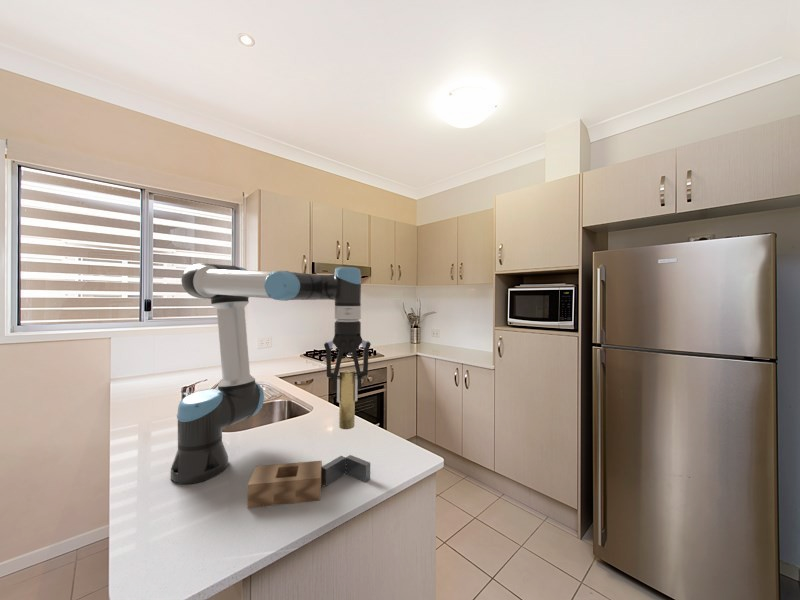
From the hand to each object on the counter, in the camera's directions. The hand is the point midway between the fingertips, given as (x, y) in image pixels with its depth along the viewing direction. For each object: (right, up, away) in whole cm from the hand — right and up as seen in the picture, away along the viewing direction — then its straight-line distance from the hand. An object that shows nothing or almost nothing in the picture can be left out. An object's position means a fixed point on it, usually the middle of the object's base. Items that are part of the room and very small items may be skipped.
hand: (347, 399), depth 94 cm
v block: (-1, -24, +2) cm, 24 cm away
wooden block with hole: (-15, -24, -6) cm, 29 cm away
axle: (0, -8, 0) cm, 8 cm away
